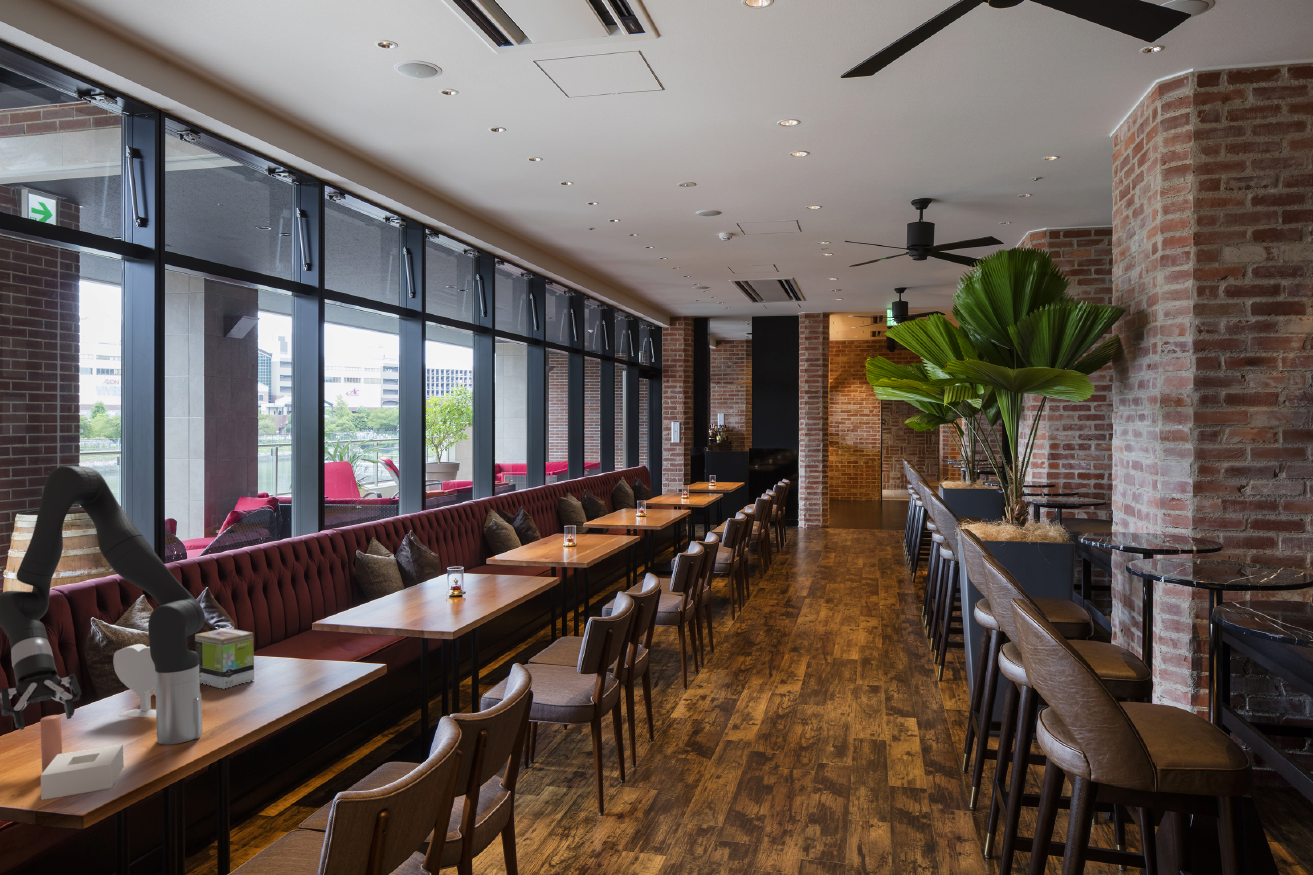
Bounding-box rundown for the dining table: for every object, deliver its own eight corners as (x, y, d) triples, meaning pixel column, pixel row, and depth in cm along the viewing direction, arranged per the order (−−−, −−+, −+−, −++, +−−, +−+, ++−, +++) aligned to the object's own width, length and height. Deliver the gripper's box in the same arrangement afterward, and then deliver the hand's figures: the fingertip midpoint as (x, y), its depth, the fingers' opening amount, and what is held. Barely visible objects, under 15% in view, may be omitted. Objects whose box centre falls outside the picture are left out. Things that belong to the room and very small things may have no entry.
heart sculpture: (178, 710, 214) (176, 643, 214) (164, 717, 209) (162, 648, 209) (127, 708, 217) (125, 642, 217) (112, 715, 212) (110, 647, 212)
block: (123, 766, 178) (122, 744, 178) (111, 787, 167) (110, 764, 167) (58, 776, 173) (57, 754, 173) (41, 799, 162) (40, 775, 162)
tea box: (255, 680, 239) (254, 631, 239) (222, 690, 231) (221, 639, 231) (227, 673, 247) (226, 626, 247) (194, 682, 239) (193, 633, 239)
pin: (64, 767, 179) (62, 713, 178) (60, 773, 175) (58, 718, 175) (44, 770, 177) (43, 716, 177) (39, 776, 174) (38, 721, 174)
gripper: (-4, 659, 179) (8, 722, 172) (73, 646, 190) (87, 704, 182) (-8, 678, 183) (4, 740, 175) (68, 664, 193) (82, 722, 186)
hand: (46, 722), depth 179 cm, fingers open, 8 cm apart
